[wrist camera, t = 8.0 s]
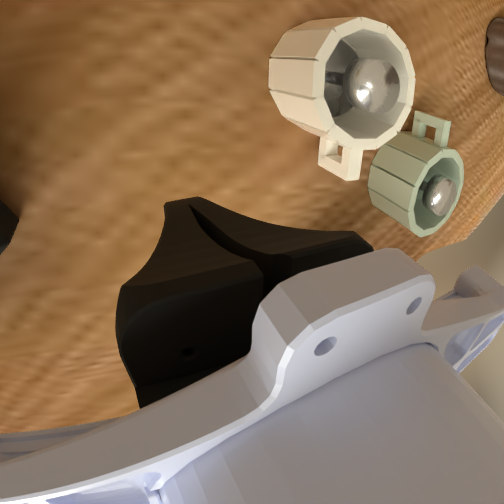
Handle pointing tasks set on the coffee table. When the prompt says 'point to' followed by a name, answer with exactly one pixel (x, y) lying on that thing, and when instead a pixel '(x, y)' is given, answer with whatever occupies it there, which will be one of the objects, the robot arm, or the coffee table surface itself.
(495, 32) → the plant pot
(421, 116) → the sage press carafe
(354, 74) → the silver knobbed plunger
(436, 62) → the coffee table surface
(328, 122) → the cream press carafe
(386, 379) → the robot arm
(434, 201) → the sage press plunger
